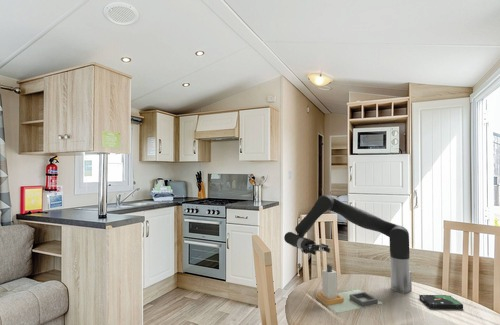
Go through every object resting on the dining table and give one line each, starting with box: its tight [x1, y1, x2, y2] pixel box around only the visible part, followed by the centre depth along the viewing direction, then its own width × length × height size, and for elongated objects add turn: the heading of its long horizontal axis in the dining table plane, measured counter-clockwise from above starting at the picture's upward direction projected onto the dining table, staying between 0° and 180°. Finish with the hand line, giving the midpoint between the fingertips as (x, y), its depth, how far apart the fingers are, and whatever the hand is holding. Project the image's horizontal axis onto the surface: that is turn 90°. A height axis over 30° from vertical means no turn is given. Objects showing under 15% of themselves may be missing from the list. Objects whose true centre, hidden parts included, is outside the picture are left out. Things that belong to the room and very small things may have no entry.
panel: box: [315, 288, 383, 315], centre depth 144 cm, size 26×17×3 cm, turn 110°
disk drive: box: [418, 294, 464, 310], centre depth 141 cm, size 10×3×15 cm
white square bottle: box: [321, 263, 338, 300], centre depth 145 cm, size 5×5×17 cm
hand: (322, 251), depth 155 cm, fingers open, 8 cm apart
